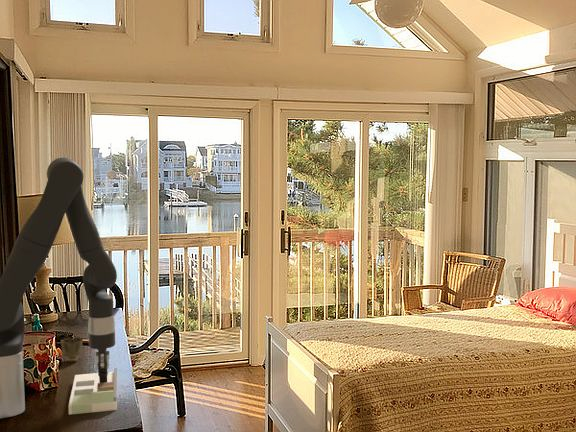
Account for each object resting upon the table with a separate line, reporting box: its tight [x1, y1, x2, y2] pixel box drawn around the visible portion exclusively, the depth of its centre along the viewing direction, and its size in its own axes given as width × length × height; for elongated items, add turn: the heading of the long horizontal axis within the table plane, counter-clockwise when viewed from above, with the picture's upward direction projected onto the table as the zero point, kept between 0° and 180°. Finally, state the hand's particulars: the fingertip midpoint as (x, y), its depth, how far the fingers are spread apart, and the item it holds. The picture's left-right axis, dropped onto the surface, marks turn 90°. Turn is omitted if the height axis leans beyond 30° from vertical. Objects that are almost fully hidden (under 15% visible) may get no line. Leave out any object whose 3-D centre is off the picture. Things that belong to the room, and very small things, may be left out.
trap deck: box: [68, 367, 118, 415], centre depth 195 cm, size 28×13×6 cm, turn 15°
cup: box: [60, 336, 84, 363], centre depth 230 cm, size 8×7×8 cm
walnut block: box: [97, 382, 114, 392], centre depth 188 cm, size 4×4×3 cm
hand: (103, 387), depth 192 cm, fingers closed
